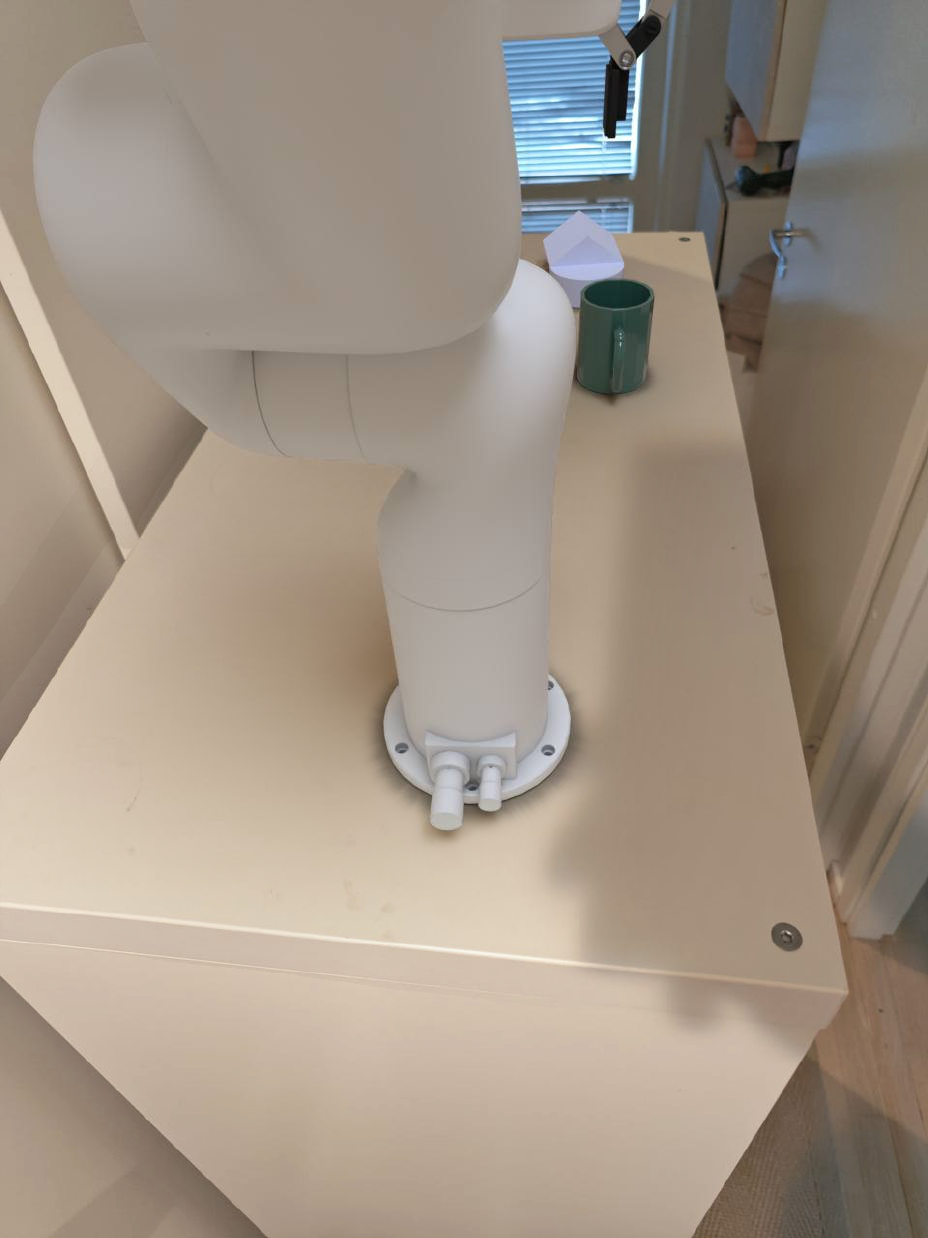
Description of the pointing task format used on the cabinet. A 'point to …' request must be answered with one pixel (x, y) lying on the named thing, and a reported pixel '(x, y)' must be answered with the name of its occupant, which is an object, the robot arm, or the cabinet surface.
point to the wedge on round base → (582, 255)
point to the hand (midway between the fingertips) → (539, 135)
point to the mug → (614, 335)
